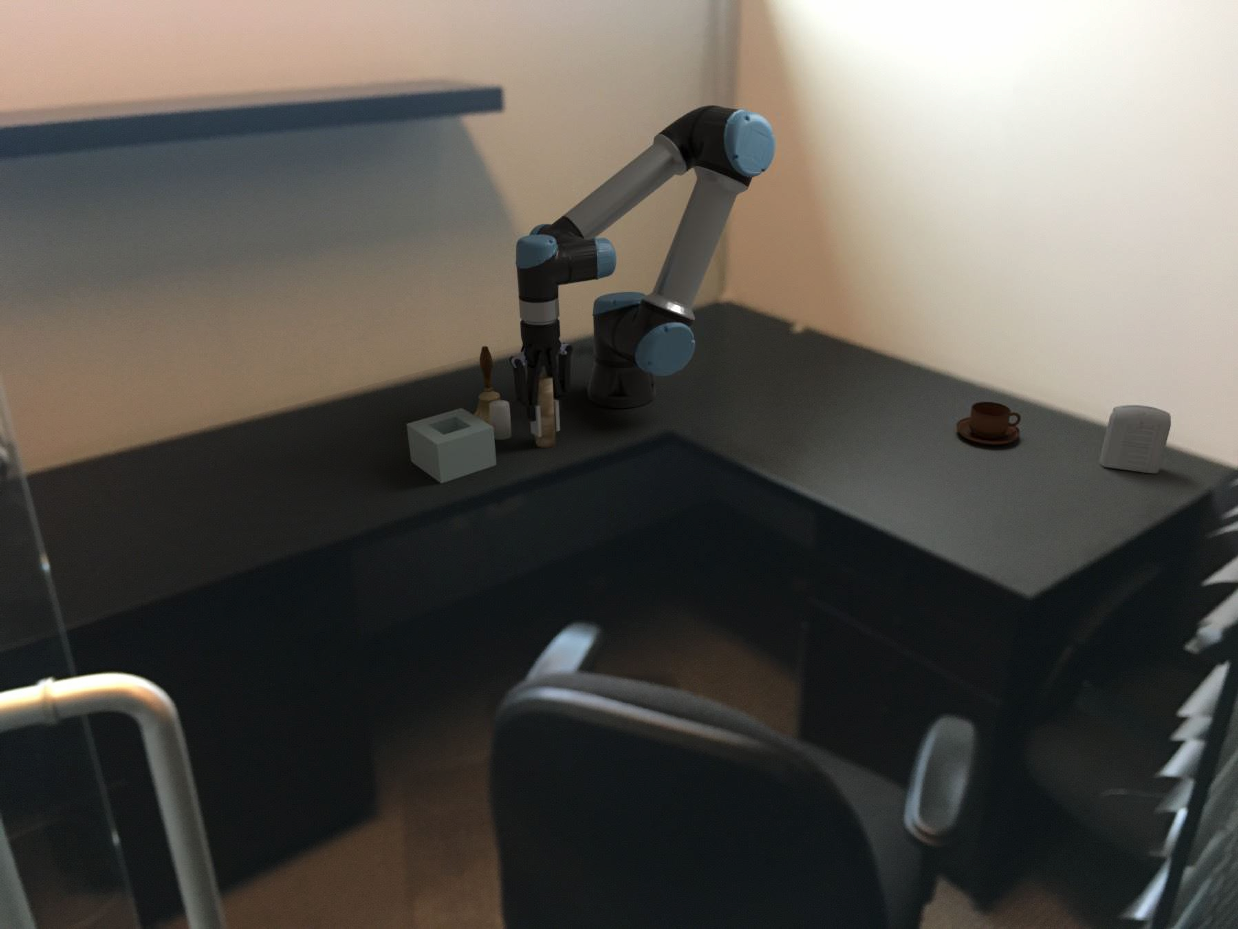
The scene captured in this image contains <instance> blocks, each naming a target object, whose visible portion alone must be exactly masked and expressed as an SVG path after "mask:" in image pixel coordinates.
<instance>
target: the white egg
mask: <svg viewBox="0 0 1238 929" xmlns="http://www.w3.org/2000/svg"><path fill="white" fill-rule="evenodd" d="M489 407H490V420H491V426H492V427H493V428H494V440H497V441H498V440H499V441H501V440H507V439H510V438H511V437H512V422H511V418H510V415H511V412H510V411H511V409H510V402H509V401H507V400H503V399H502V400H498V401H493V402H491V403H490V404H489Z"/></svg>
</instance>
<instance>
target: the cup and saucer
mask: <svg viewBox="0 0 1238 929" xmlns="http://www.w3.org/2000/svg"><path fill="white" fill-rule="evenodd" d="M969 415H970V416H969V417H964V418H962V419H960V420H958V421H957V422H956V425H955V426H956V430H957V432H958V433H959V434H960V435H961V436H962V437H964V438H965V439H967V440H969V441H972V442H974V443H978V444H983V445H992V446H997V445H1005V444H1009V443H1012V442H1013V441H1015V440H1017V439H1018V438H1019V437H1020V434H1021V432H1020V431H1021V430H1020V429H1019V428H1018V425H1019V424H1020V422H1021V420H1022V419H1021V418H1022V417H1021V415H1020V414H1019V413H1018V412H1017V411H1016V412H1013V411H1012V412H1011V409H1010V408H1009V406H1007V405H1004V404H1002V403H999V402H993V401H979V402H975V403H974V404H972V405H971V409H970V414H969ZM1011 416H1015V417H1016V419H1017V420H1016V421H1015V422H1013V423H1012V422H1010V417H1011Z"/></svg>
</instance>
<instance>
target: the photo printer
mask: <svg viewBox="0 0 1238 929" xmlns="http://www.w3.org/2000/svg"><path fill="white" fill-rule="evenodd" d="M1170 413H1171V412H1167V411H1166V410H1163V409H1160V408H1157V407H1154V406H1148V405H1143V404H1142V405H1140V404H1126V405H1119V406H1114V407H1113V409H1112V412H1111V413H1110V415H1109V418H1108V421H1107V422H1108V423H1107V427H1106V431H1105V436H1104V440H1103V444H1102V449H1101V453H1100V457H1099V460H1098V461H1099V464H1100V466H1102V467H1105V468H1110V469H1117V470H1125V471H1131V472H1139V473H1147V474H1148V473H1149V474H1157V473H1159V471H1160V469H1161V465H1162V464H1161V463H1162V461H1163V457H1164V453H1165V449H1166V445H1167V442H1168V440H1169V439H1168V438H1169V434H1170V430H1171V427H1172V420H1171V419H1172V418H1171V417H1172V416H1171V414H1170Z"/></svg>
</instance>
